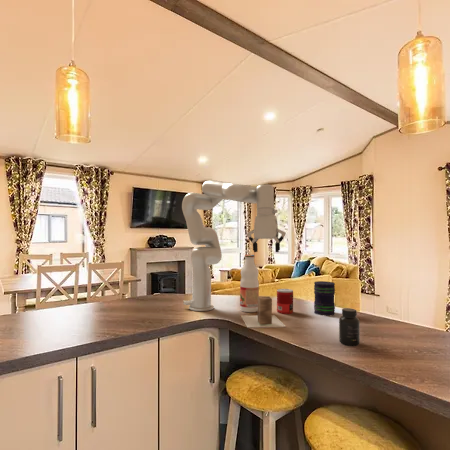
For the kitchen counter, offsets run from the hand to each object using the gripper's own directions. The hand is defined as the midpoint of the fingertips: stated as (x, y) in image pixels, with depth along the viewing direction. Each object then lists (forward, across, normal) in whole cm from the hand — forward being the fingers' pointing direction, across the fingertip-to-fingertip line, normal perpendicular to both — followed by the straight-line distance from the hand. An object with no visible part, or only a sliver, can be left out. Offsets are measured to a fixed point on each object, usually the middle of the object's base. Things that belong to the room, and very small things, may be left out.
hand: (266, 252), depth 139 cm
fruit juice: (+30, +15, -20) cm, 39 cm away
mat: (+31, +3, -2) cm, 31 cm away
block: (+30, +1, +2) cm, 30 cm away
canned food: (+31, -2, -23) cm, 39 cm away
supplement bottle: (+32, -33, +12) cm, 48 cm away
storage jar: (+31, -20, -30) cm, 48 cm away
